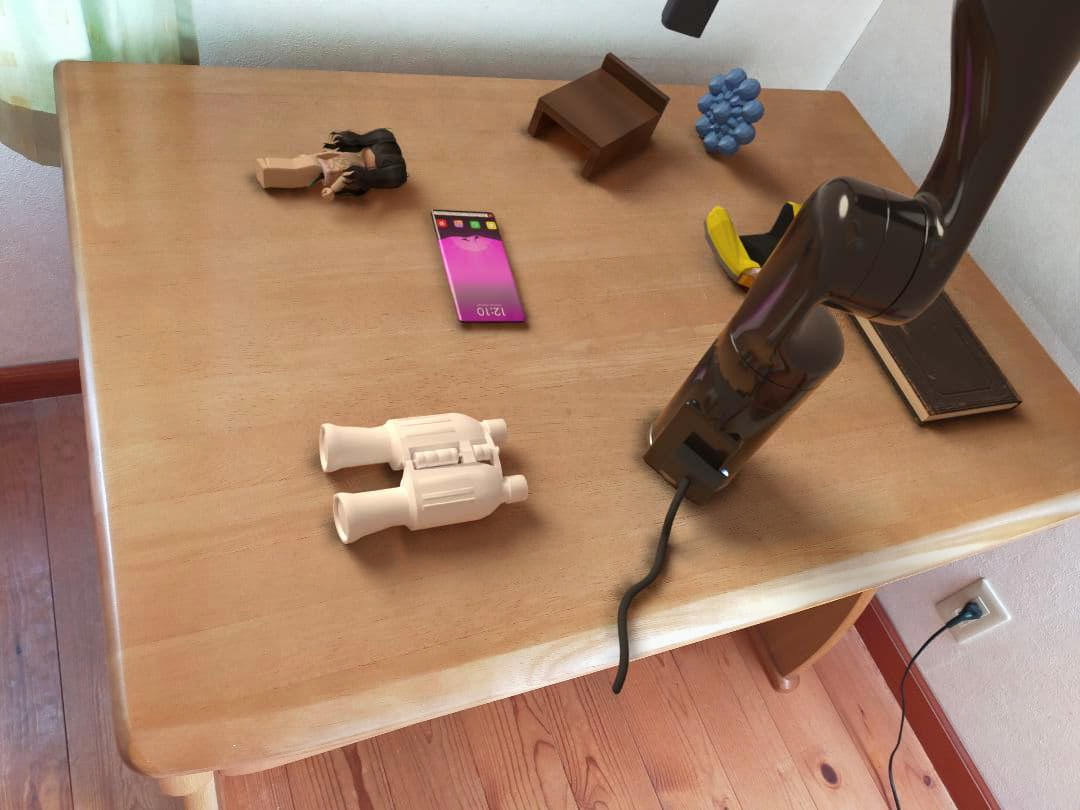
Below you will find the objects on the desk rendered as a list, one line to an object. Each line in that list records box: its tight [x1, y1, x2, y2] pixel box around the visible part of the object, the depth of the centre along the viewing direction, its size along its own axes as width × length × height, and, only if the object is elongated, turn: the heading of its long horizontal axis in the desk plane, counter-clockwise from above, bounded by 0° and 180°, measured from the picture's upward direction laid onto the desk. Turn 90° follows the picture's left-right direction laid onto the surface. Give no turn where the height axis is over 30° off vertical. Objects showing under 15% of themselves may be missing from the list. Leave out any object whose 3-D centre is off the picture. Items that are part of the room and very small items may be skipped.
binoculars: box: [318, 412, 529, 545], centre depth 73 cm, size 10×16×5 cm, turn 110°
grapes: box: [694, 67, 765, 158], centre depth 114 cm, size 12×7×12 cm, turn 20°
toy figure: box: [255, 127, 410, 202], centre depth 90 cm, size 7×6×15 cm
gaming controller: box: [703, 201, 803, 289], centre depth 105 cm, size 15×6×10 cm
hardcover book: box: [847, 288, 1024, 426], centre depth 108 cm, size 16×23×2 cm
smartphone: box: [430, 209, 527, 324], centre depth 91 cm, size 7×15×1 cm, turn 16°
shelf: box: [526, 51, 671, 181], centre depth 109 cm, size 14×10×7 cm
